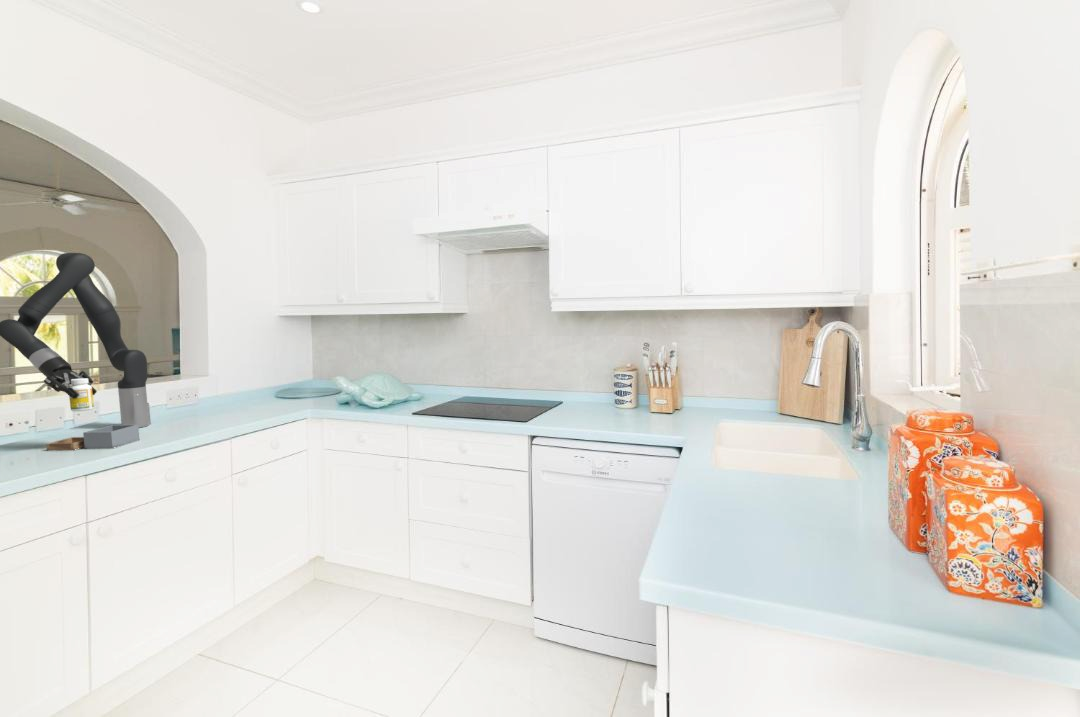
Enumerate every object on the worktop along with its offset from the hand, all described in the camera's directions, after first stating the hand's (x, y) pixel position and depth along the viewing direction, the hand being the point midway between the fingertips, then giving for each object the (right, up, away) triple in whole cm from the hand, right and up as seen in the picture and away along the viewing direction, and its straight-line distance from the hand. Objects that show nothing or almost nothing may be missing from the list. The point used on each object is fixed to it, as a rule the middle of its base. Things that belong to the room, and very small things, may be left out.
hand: (85, 395), depth 180 cm
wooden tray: (-5, -19, +1) cm, 20 cm away
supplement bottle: (-2, -6, +1) cm, 6 cm away
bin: (+7, -18, +4) cm, 20 cm away
